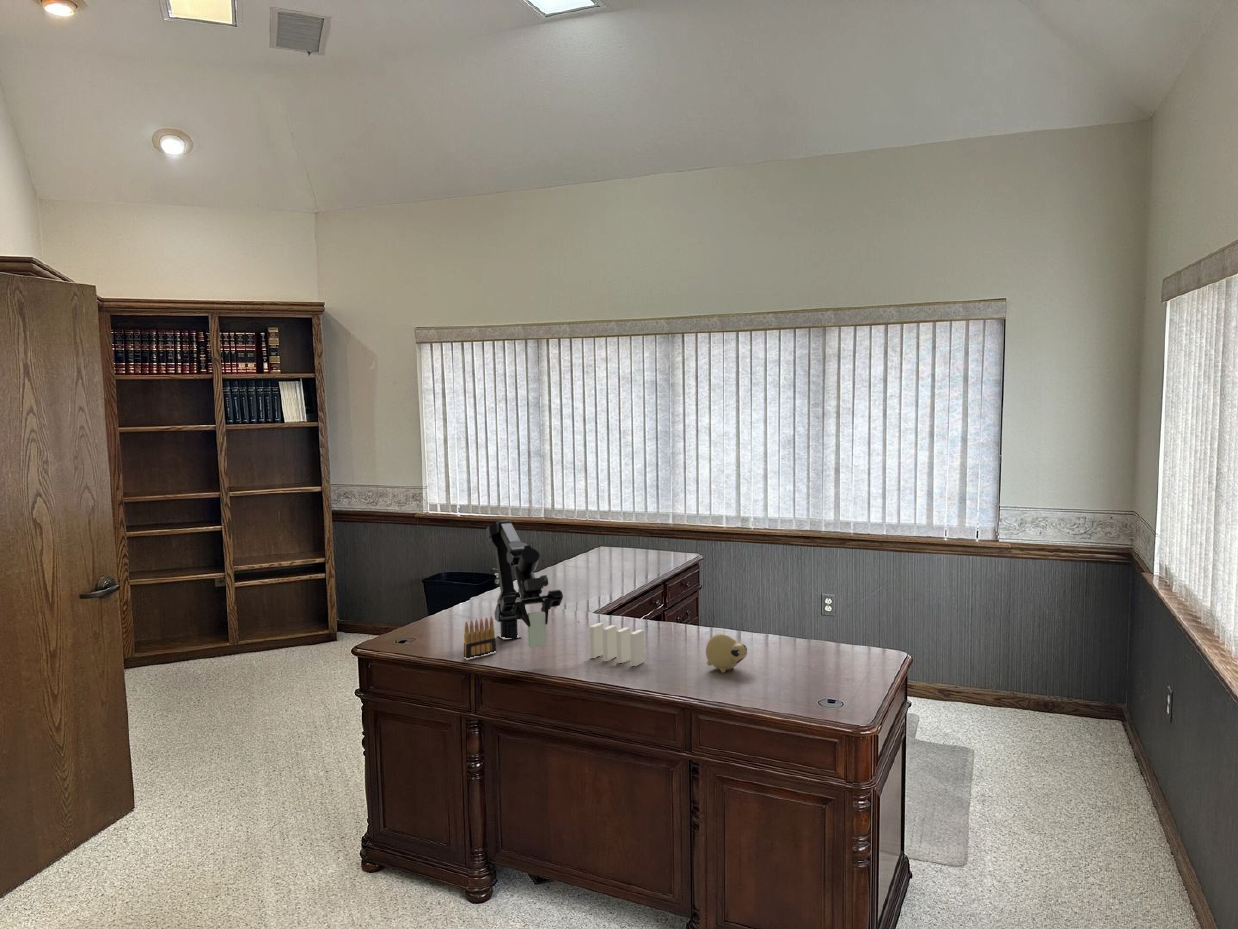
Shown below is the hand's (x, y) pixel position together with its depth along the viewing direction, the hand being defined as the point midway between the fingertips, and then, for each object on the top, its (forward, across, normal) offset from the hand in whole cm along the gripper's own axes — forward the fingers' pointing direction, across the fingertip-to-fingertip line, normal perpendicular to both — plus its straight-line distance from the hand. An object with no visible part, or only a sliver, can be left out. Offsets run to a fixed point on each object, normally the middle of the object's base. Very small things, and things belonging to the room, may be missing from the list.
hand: (538, 625), depth 259 cm
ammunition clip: (-3, -14, +21) cm, 26 cm away
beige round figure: (+29, +48, -11) cm, 57 cm away
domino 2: (+8, +19, +9) cm, 23 cm away
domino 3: (+11, +22, +6) cm, 25 cm away
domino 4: (+14, +24, +3) cm, 28 cm away
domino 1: (+4, 0, +6) cm, 7 cm away
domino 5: (+17, +27, 0) cm, 32 cm away
